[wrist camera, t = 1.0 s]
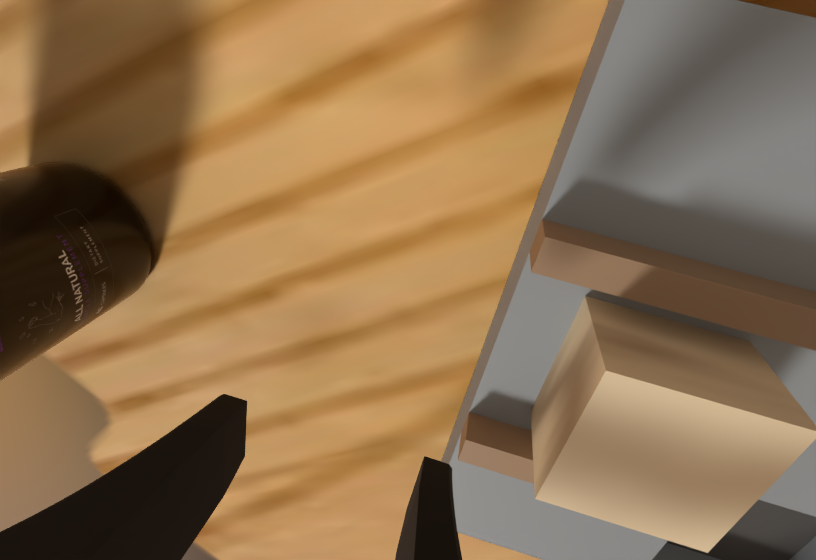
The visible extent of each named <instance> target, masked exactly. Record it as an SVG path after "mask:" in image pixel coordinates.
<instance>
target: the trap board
mask: <svg viewBox="0 0 816 560" xmlns="http://www.w3.org/2000/svg"><path fill="white" fill-rule="evenodd" d="M585 296H587V297H591V298H594V299H598V300H601V301H605V302H609V303H612V304H616V305H620V306H623V307H627V308H630V309H634V310H638V311H641V312H645V313H648V314H652V315H656V316H659V317H663V318H666V319H670V320H674V321H677V322H681V323H684V324H688V325H692V326H695V327H699V328H702V329H706V330H710V331H713V332H717V333H720V334H724V335H728V336H731V337H735V338H739V339H742V340H746V341H749V342H751V343H752V344H753V346H754V347H755V348H756V350H757V351H758V352H759V353H760V355H761V356H762V357H763V359H764V360H765V361H766V362H767V364H768V365H769V366H770V367H771V369H772V370H773V371H774V373H775V374H776V375H777V376H778V378H779V379H780V380H781V382H782V383H783V384H784V385H785V387H786V388H787V389H788V390H789V392H790V393H791V394H792V396H793V397H794V398H795V399H796V401H797V402H798V403H799V405H800V406H801V407H802V408H803V410H804V411H805V412H806V414H807V415H808V416H809V417H810V419H811V420H812V421H813V422H814V424H815V425H816V18H815V17H810V16H806V15H801V14H797V13H792V12H788V11H783V10H779V9H774V8H770V7H765V6H761V5H756V4H752V3H747V2H743V1H738V0H609V2H608V5H607V8H606V11H605V13H604V16H603V19H602V22H601V24H600V27H599V30H598V33H597V35H596V38H595V41H594V44H593V46H592V49H591V52H590V55H589V57H588V60H587V63H586V66H585V68H584V71H583V74H582V76H581V79H580V82H579V85H578V87H577V90H576V93H575V96H574V98H573V101H572V104H571V107H570V109H569V112H568V115H567V118H566V120H565V123H564V126H563V129H562V131H561V134H560V137H559V140H558V142H557V145H556V148H555V151H554V153H553V156H552V159H551V162H550V164H549V167H548V170H547V173H546V175H545V178H544V181H543V184H542V186H541V189H540V192H539V195H538V197H537V200H536V203H535V206H534V208H533V211H532V214H531V217H530V219H529V222H528V225H527V228H526V230H525V233H524V236H523V239H522V241H521V244H520V247H519V249H518V252H517V255H516V258H515V260H514V263H513V266H512V269H511V271H510V274H509V277H508V280H507V282H506V285H505V288H504V291H503V293H502V296H501V299H500V302H499V304H498V307H497V310H496V313H495V315H494V318H493V321H492V324H491V326H490V329H489V332H488V335H487V337H486V340H485V343H484V346H483V348H482V351H481V354H480V357H479V359H478V362H477V365H476V368H475V370H474V373H473V376H472V379H471V381H470V384H469V387H468V390H467V392H466V395H465V398H464V401H463V403H462V406H461V409H460V412H459V414H458V417H457V420H456V423H455V425H454V428H453V431H452V433H451V436H450V439H449V442H448V444H447V447H446V450H445V453H444V455H443V458H442V461H441V462H444V463H447V464H449V465H450V466H451V468H452V484H453V499H454V509H455V517H456V525H457V532H458V533H462V534H465V535H468V536H471V537H474V538H477V539H480V540H483V541H486V542H489V543H493V544H496V545H499V546H502V547H505V548H508V549H511V550H514V551H517V552H520V553H524V554H527V555H530V556H533V557H536V558H539V559H542V560H816V439H815V440H814V441H813V442H812V443H811V445H810V446H809V447H808V448H807V449H806V450H805V451H804V452H803V453H802V454H801V455H800V456H799V457H798V458H797V459H796V460H795V461H794V462H793V464H792V465H791V466H790V467H789V468H788V469H787V470H786V471H785V472H784V473H783V474H782V475H781V476H780V477H779V478H778V479H777V480H776V481H775V483H774V484H773V485H772V486H771V487H770V488H769V489H768V490H767V491H766V492H765V493H764V494H763V495H762V496H761V497H760V498H759V499H758V500H757V501H756V503H755V504H754V505H753V506H752V507H751V508H750V509H749V510H748V511H747V512H746V513H745V514H744V515H743V516H742V517H741V518H740V519H739V520H738V522H737V523H736V524H735V525H734V526H733V527H732V528H731V529H730V530H729V531H728V532H727V533H726V534H725V535H724V536H723V537H722V538H721V539H720V541H719V542H718V543H717V544H716V545H715V546H714V547H713V548H712V549H711V550H710V551H709V552H708V553H706V552H703V551H700V550H697V549H694V548H690V547H687V546H684V545H681V544H678V543H674V542H671V541H668V540H665V539H662V538H658V537H655V536H652V535H649V534H646V533H642V532H639V531H636V530H633V529H630V528H626V527H623V526H620V525H617V524H614V523H610V522H607V521H604V520H601V519H598V518H595V517H591V516H588V515H585V514H582V513H579V512H575V511H572V510H569V509H566V508H563V507H559V506H556V505H553V504H550V503H547V502H543V501H540V500H537V499H535V489H534V469H533V448H532V428H531V409H532V407H533V405H534V403H535V401H536V399H537V396H538V394H539V392H540V390H541V388H542V386H543V384H544V382H545V379H546V377H547V375H548V373H549V371H550V369H551V367H552V365H553V363H554V360H555V358H556V356H557V354H558V352H559V350H560V348H561V346H562V343H563V341H564V339H565V337H566V335H567V333H568V331H569V329H570V327H571V324H572V322H573V320H574V318H575V316H576V314H577V312H578V310H579V307H580V305H581V303H582V301H583V299H584V297H585Z"/></svg>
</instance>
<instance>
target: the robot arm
mask: <svg viewBox="0 0 816 560" xmlns="http://www.w3.org/2000/svg"><path fill="white" fill-rule="evenodd" d="M246 414H247V401H245V400H242V399H239V398H236V397H232V396H229V395H226V394H223V395H221V396H219V397H218V398H216V399H215V400H214V401H212V402H211V403H210V404H208V405H207V406H205V407H204V408H203V409H201V410H200V411H199V412H197V413H196V414H195V415H193V416H192V417H190V418H189V419H188V420H186V421H185V422H183V423H182V424H181V425H179V426H178V427H176V428H175V429H174V430H172V431H171V432H169V433H168V434H166V435H165V436H163V437H162V438H161V439H159V440H158V441H156V442H155V443H153V444H152V445H150V446H149V447H147V448H146V449H144V450H143V451H141V452H140V453H138V454H137V455H135V456H134V457H132V458H131V459H129V460H128V461H126V462H124V463H123V464H121V465H120V466H118V467H116V468H115V469H113V470H111V471H110V472H108V473H107V474H105V475H103V476H102V477H100V478H99V479H97V480H95V481H94V482H92V483H90V484H89V485H87V486H85V487H84V488H82V489H80V490H78V491H77V492H75V493H74V494H72V495H70V496H68V497H66V498H64V499H63V500H61V501H59V502H57V503H55V504H54V505H52V506H50V507H48V508H47V509H44V510H42V511H41V512H39V513H37V514H35V515H33V516H31V517H29V518H27V519H25V520H23V521H21V522H19V523H17V524H15V525H13V526H11V527H10V528H7V529H5V530H3V531H1V532H0V560H181V559H182V557H183V556H184V554H185V553H186V551H187V550H188V548H189V547H190V546H191V544H192V543H193V541H194V540H195V538H196V537H197V535H198V534H199V532H200V531H201V529H202V528H203V526H204V525H205V523H206V522H207V520H208V519H209V517H210V516H211V514H212V513H213V511H214V510H215V508H216V507H217V505H218V504H219V502H220V501H221V499H222V498H223V496H224V495H225V493H226V491H227V489H228V487H229V485H230V483H231V482H232V480H233V478H234V476H235V474H236V472H237V470H238V468H239V466H240V464H241V462H242V461H243V459H244V457H245V439H246ZM395 560H462V556H461V550H460V545H459V539H458V532H457V525H456V517H455V509H454V499H453V484H452V468H451V466H450V465H449V464H447V463H444V462H441V461H438V460H434V459H431V458H428V457H425V456H424V459H423V462H422V465H421V468H420V471H419V474H418V477H417V480H416V483H415V486H414V489H413V492H412V495H411V498H410V501H409V504H408V507H407V511H406V515H405V519H404V523H403V527H402V531H401V536H400V540H399V544H398V548H397V552H396V559H395Z"/></svg>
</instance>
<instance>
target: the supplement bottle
mask: <svg viewBox="0 0 816 560" xmlns="http://www.w3.org/2000/svg"><path fill="white" fill-rule="evenodd" d="M151 261H152V249H151V242H150V238H149V234H148V232H147V229H146V226H145V224H144V222H143V220H142V218H141V216H140V215H139V213H138V211H137V210H136V208H135V207H134V206H133V204H132V203H131V202H130V200H129V199H128V198H127V197H126V196H125V195H124V194H123V193H122V192H121V191H120V190H119V189H118V188H117V187H116V186H115V185H113V184H112V183H111V182H110V181H108V180H107V179H105V178H104V177H102V176H101V175H99V174H97V173H95V172H93V171H91V170H89V169H87V168H84V167H82V166H79V165H75V164H71V163H65V162H47V163H41V164H36V165H32V166H27V167H23V168H18V169H14V170H10V171H6V172H2V173H0V381H1V380H3V379H4V378H6V377H7V376H9V375H11V374H12V373H13V372H15V371H17V370H18V369H20V368H21V367H22V366H24V365H26V364H27V363H29V362H30V361H32V360H33V359H35V358H37V357H38V356H40V355H41V354H43V353H44V352H46V351H47V350H49V349H50V348H52V347H53V346H55V345H56V344H58V343H59V342H61V341H63V340H64V339H66V338H67V337H69V336H70V335H72V334H73V333H75V332H76V331H78V330H79V329H81V328H82V327H84V326H85V325H87V324H89V323H90V322H92V321H93V320H95V319H96V318H98V317H99V316H101V315H102V314H104V313H105V312H107V311H108V310H110V309H111V308H113V307H114V306H116V305H117V304H119V303H120V302H122V301H123V300H125V299H126V298H128V297H129V296H131V295H132V294H133V293H135V292H136V291H137V290H138V289H139V288H140V287H141V286H142V285H143V283H144V282H145V280H146V278H147V276H148V274H149V271H150V267H151Z"/></svg>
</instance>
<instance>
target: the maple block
mask: <svg viewBox="0 0 816 560" xmlns="http://www.w3.org/2000/svg"><path fill="white" fill-rule="evenodd" d="M531 428H532V448H533V469H534V489H535V499H537V500H540V501H543V502H547V503H550V504H553V505H556V506H559V507H563V508H566V509H569V510H572V511H575V512H579V513H582V514H585V515H588V516H591V517H595V518H598V519H601V520H604V521H607V522H610V523H614V524H617V525H620V526H623V527H626V528H630V529H633V530H636V531H639V532H642V533H646V534H649V535H652V536H655V537H658V538H662V539H665V540H668V541H671V542H674V543H678V544H681V545H684V546H687V547H690V548H694V549H697V550H700V551H703V552H706V553H708V552H709V551H710V550H711V549H712V548H713V547H714V546H715V545H716V544H717V543H718V542H719V541H720V539H721V538H722V537H723V536H724V535H725V534H726V533H727V532H728V531H729V530H730V529H731V528H732V527H733V526H734V525H735V524H736V523H737V522H738V520H739V519H740V518H741V517H742V516H743V515H744V514H745V513H746V512H747V511H748V510H749V509H750V508H751V507H752V506H753V505H754V504H755V503H756V501H757V500H758V499H759V498H760V497H761V496H762V495H763V494H764V493H765V492H766V491H767V490H768V489H769V488H770V487H771V486H772V485H773V484H774V483H775V481H776V480H777V479H778V478H779V477H780V476H781V475H782V474H783V473H784V472H785V471H786V470H787V469H788V468H789V467H790V466H791V465H792V464H793V462H794V461H795V460H796V459H797V458H798V457H799V456H800V455H801V454H802V453H803V452H804V451H805V450H806V449H807V448H808V447H809V446H810V445H811V443H812V442H813V441H814V440H815V439H816V425H815V424H814V422H813V421H812V420H811V419H810V417H809V416H808V415H807V414H806V412H805V411H804V410H803V408H802V407H801V406H800V405H799V403H798V402H797V401H796V399H795V398H794V397H793V396H792V394H791V393H790V392H789V390H788V389H787V388H786V387H785V385H784V384H783V383H782V382H781V380H780V379H779V378H778V376H777V375H776V374H775V373H774V371H773V370H772V369H771V367H770V366H769V365H768V364H767V362H766V361H765V360H764V359H763V357H762V356H761V355H760V353H759V352H758V351H757V350H756V348H755V347H754V346H753V344H752V343H751V342H749V341H746V340H742V339H739V338H735V337H731V336H728V335H724V334H720V333H717V332H713V331H710V330H706V329H702V328H699V327H695V326H692V325H688V324H684V323H681V322H677V321H674V320H670V319H666V318H663V317H659V316H656V315H652V314H648V313H645V312H641V311H638V310H634V309H630V308H627V307H623V306H620V305H616V304H612V303H609V302H605V301H601V300H598V299H594V298H591V297H587V296H585V297H584V299H583V301H582V303H581V305H580V307H579V310H578V312H577V314H576V316H575V318H574V320H573V322H572V324H571V327H570V329H569V331H568V333H567V335H566V337H565V339H564V341H563V343H562V346H561V348H560V350H559V352H558V354H557V356H556V358H555V360H554V363H553V365H552V367H551V369H550V371H549V373H548V375H547V377H546V379H545V382H544V384H543V386H542V388H541V390H540V392H539V394H538V396H537V399H536V401H535V403H534V405H533V407H532V409H531Z"/></svg>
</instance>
